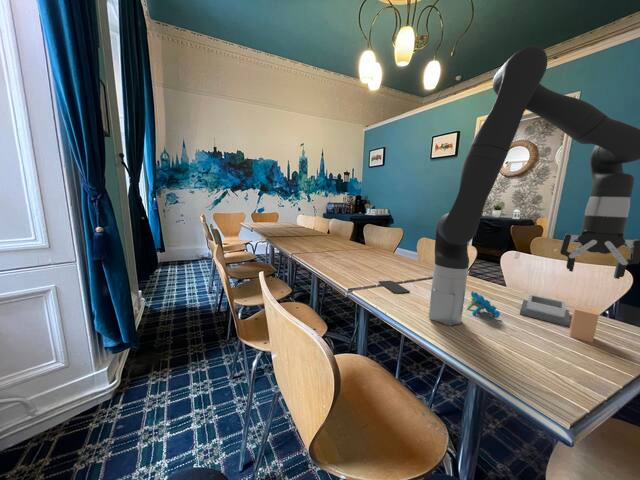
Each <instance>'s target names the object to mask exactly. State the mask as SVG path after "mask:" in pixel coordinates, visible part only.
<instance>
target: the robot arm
mask: <svg viewBox="0 0 640 480" xmlns="http://www.w3.org/2000/svg"><path fill="white" fill-rule="evenodd" d="M547 68H548V56H547V53H546V51H545V50H544V48H542V47H541V46H538V45H528V46H526V47H523V48H521V49H519V50H518V51H516V52H515V53H514V54H512V55H511V56H510V57H509V58H508V59H507V61H505V62H504V64H503V65H502V66H501V67H500V68H499V69H498V70H497V71H496V73H495V75H493V76H494V77H493V78H492V84H491V85H492V89H493V91H494V93H495V95H497V96H496V99H495V101H494V103H493V105H492V108H491V110H490V111H489V113H488V115H487V116H486V118H485V119H484V121H483V123H482V124H481V125H480V127H479V129H478V131H477V133H476V134H475V135H474V137H473V140H472V142H471V144H470V146H469V148H468V152H467V154H466V157H465V159H464V162H463V165H462V169H461V175H460V181H459V188H458V193H457V196H456V198H455V200H454V202H453V204H452V206H451V209H450V210H449V212H447V213H444V214H443V215H442V216H441V217H440V219H439V220H438V221H437V225H436V231H435V240H434V242H435V243H434V265H433V273H432V274H433V275H432V281H431V282H432V283H431V290H430V291H431V292H430V301H429V308H428V309H429V310H428V311H429V312H428V316H429V319H430V320H431V321H434V322H436V323H440V324H444V325H447V326H450V327H451V326H455V325H460V324H461V323H462V320H463V319H462V318H463V311H464V303H465V295H466V294H465V293H466V288H467V281H468V273H469V266H470V258H469V253H468V248H469V247H468V246H469V243H470V242H471V241H472V240H473V238H474V237H475V236H476V234H477V231H478V230H479V229H478V228H479V225H480V221H481V219H482V215H483V212H484V208H485V205H486V202H487V200H488V198H489V195H490V194H491V192H492V189H493V188H494V185H495V182H496V180H497V179H498V177H499V174H500V172H501V170H502V167H503V166H504V163H505V161H506V159H507V156H508V154H509V152H510V148H511V146H512V144H513V141H514V139H515V137H516V134H517V131H518V130H519V126H520V124H521V121H522V118H523V115H524V113H525V111H526V110H527V111H528V112H530V113H532V114H535V115H536V116H538V117H540V118H542V119H543V120H546V121H547V122H548V123H550V124H551V125H554V126H555V127H556V128H558V129H559V130H560V131H562V132H563V133H564V134H566V135H567V136H568V137H569V138H571V139H572V140H574V141H575V142H577V143H579V144H582V145H594V147H593V149H592V150H591V153H590V157H589V162H590V163H589V164H590V172H591V177H592V185H591V190H590V194H589V198H588V202H587V204H586V207H585V211H584V217H583V222H582V226H581V227H582V228H581V232H580V234H579V235H577V234H570V233H565V235H564V237H563V240H562V244H561V248H560V254H561V255H562V256H565V257H567V261H566V269H567V270H568V271H569V272H570V273H571V272H574V267H575V263H576V257H578V256H579V255H580V254H582V253H584V252H585V251H587V252H589V253H600V254H604V255H605V254H606V255H607V254H612V256H613V257H614V258H615V260H616V261H617V262H618V263H616V265H615V269H614V275H613V278H614V279H616V280H617V279H618V280H620V278H623V277H624V276H625V273H626V269H627V266H629V265H639V264H640V239H625V237H624V235H625V231H626V225H627V223H628V217H629V213H630V210H631V209H630V207H631V196H632V192H633V189H634V183H635V178H634V176H633V175H632V174H630V173H625V172H624V169H623V167H624V166H623V164H625V163H632V162H637V161H639V160H640V128H638V127H635V126H632V125H630V124H627V123H625V122H622V121H618V120H616V119H612V118H610V117H609V116H608V115H607V114H605V113H604V112H602V111H601V110H599V109H598V108H597V107H596V106H594V105H592V104H590V103H589V102H587V101H585V100H582V99H579V98H576V97H574V96H573V97H572V96H569V95H565V94H561V93H558V92H556V91H554V90H551V89H549V88H547V87H545V86H543V84H541V81H542V79H543V77H544V75H545V74H546V71H547ZM575 240H577V241H578V242H579V243H580V244H581V245H579V246H578V247H576V248H575V249H573V250H572V251H571V252H570V251H568V249H569V245H570V243H573V242H574V241H575ZM625 244H626V245H627V247H628V248H629V249H630V255H629V256H630V257H629V258H625V257H624V256H623V255H622V253H621V252H620V251H619V250H618V249H619V248H620V247H622V246H624V245H625Z"/></svg>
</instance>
